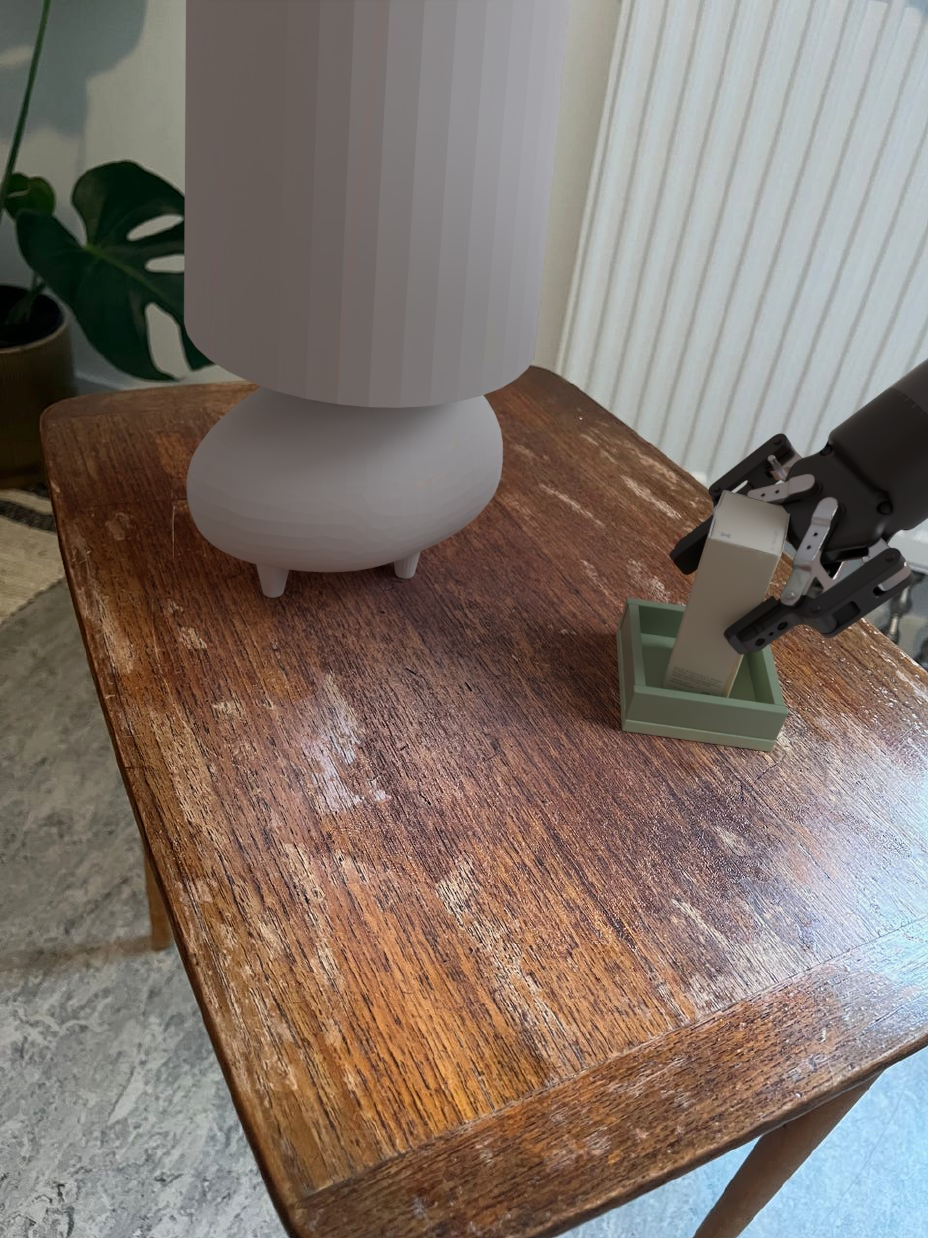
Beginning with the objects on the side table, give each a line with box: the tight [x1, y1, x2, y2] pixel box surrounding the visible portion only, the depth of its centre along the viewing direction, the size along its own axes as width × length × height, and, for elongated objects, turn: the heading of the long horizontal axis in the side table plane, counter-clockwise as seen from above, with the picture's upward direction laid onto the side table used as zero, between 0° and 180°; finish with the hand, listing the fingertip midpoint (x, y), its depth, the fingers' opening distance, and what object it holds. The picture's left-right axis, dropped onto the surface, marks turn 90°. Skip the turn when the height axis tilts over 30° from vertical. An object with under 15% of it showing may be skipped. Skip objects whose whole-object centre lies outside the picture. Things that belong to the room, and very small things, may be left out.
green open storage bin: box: [615, 597, 789, 753], centre depth 65 cm, size 10×10×4 cm
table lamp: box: [183, 0, 571, 598], centre depth 59 cm, size 23×22×40 cm
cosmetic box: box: [662, 490, 790, 698], centre depth 61 cm, size 6×4×12 cm
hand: (703, 603), depth 61 cm, fingers closed on cosmetic box, 7 cm apart
